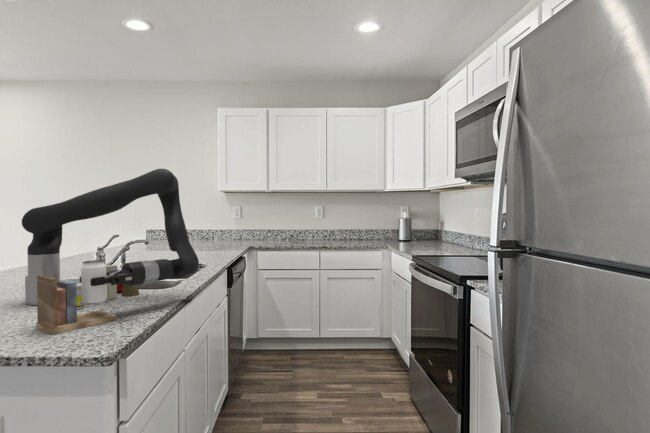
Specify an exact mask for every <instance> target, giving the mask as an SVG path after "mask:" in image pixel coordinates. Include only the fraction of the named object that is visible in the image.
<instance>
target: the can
mask: <svg viewBox="0 0 650 433" xmlns="http://www.w3.org/2000/svg"><path fill="white" fill-rule="evenodd" d="M105 264H106V263H105V260H103V259H94V260H93V259H91V260H84V261H82V264H81V267H80V272H81V273H80V276H81V287H82V302H83V303H84V305H95V304H102V303H105V302H106V301H108V300H107V285H106V283H105V284H104V285H98V286H91V279H92V278H97V277H105V276H106V265H107V264H106V265H105Z"/></svg>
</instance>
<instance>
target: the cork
mask: <svg viewBox="0 0 650 433" xmlns="http://www.w3.org/2000/svg"><path fill="white" fill-rule="evenodd" d="M138 295H140V291H139V285H136V286H130V287H128V286H126V285H124V283H123V290H122V292H121V296H122V297H134V296H138Z"/></svg>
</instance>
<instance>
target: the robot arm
mask: <svg viewBox="0 0 650 433" xmlns="http://www.w3.org/2000/svg"><path fill="white" fill-rule="evenodd" d="M179 187H180V186H179V180H178V178H177V177H176V175H175V174H174V173H173V172H171V171H170V170H169V169H166V168H157V169H154V170H151V171H149V172H146V173H144V174H141V175H140V176H137V177H134V178H131V179H128V180H125V181H121V182H118V183H114V184H112V185H111V184H110V185H108V186H102V187H101V188H97V189H94V190H91V191H88V192H85V193H83V194H80V195H77V196H75V197H72V198H70V199H68V200H64V201H61V202H58V203H55V204H54V203H53V204H49V205H43V206H38V207H34V208H31V209H29V210H28V211H26V212H25V213H24V215H23V216H22V218H21V226H22V228H23V229H24V230H25V231H27V232H28V233H31V234H32V240H31V242H30V244H29V245H28V246H27V250H26V251H27V275H26V276H25V277H24V283H25V284H24V288H25V289H24V290H25V291H24V292H25V293H24V295H25V300H24V302H25V304H26V305H29V306H37V276H38V275H44V276H48V277H51V278H55V279H57V281H61V260H60V259H61V253H60V252H61V250H60V248H61V246H62V241H63V225H66V224H69V223H72V222H76V221H83V220H89V219H94V218H98V217H102V216H105V215H109V214H112V213H115V212H117V211H120V210H121V209H123V208H125V207H126V206H128V205H129V204H131V203H132V202H134V201H137V200H138V199H141V198H144V197H147V196H152V195H157V196H158V198H159V201H160V203H161V206H162V210H163V217H164V229H165V236H166V238H167V243H168V247H169V250H170V251H171V252H176V254H177V255H178V258H176V259H166V258H163V259H161V258H160V259H155V260H153V259H152V260H138V261H132V262H126V263H125V262H124V264H123V265H122V266H121V269H118V268H117V269H114V270H107V271H106V276H105V277H97V278H92V279H91V286H98V285H104V284H105V283H106V285H109V284H111V285H116V284H123V283H124V285H126V286H128V287H130V286H136V285H138V286H141V285H142V286H143V285H147V284H152V283H154V282H158V281H165V280H174V279H176V280H177V279H182V278H185V277H188V276H190V275H193V274H195V273H196V272H197V271H198V270H199V266H200V262H199V260H200V259H199V257H198V255H197V254H196V252H195V250H194V248H193V246H192V245H191V243H190V239H189V235H188V231H187V227H186V224H185V220H184V216H183V212H182V207H181V201H180V189H179ZM79 277H80V283H81V275H80V276H79Z"/></svg>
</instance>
